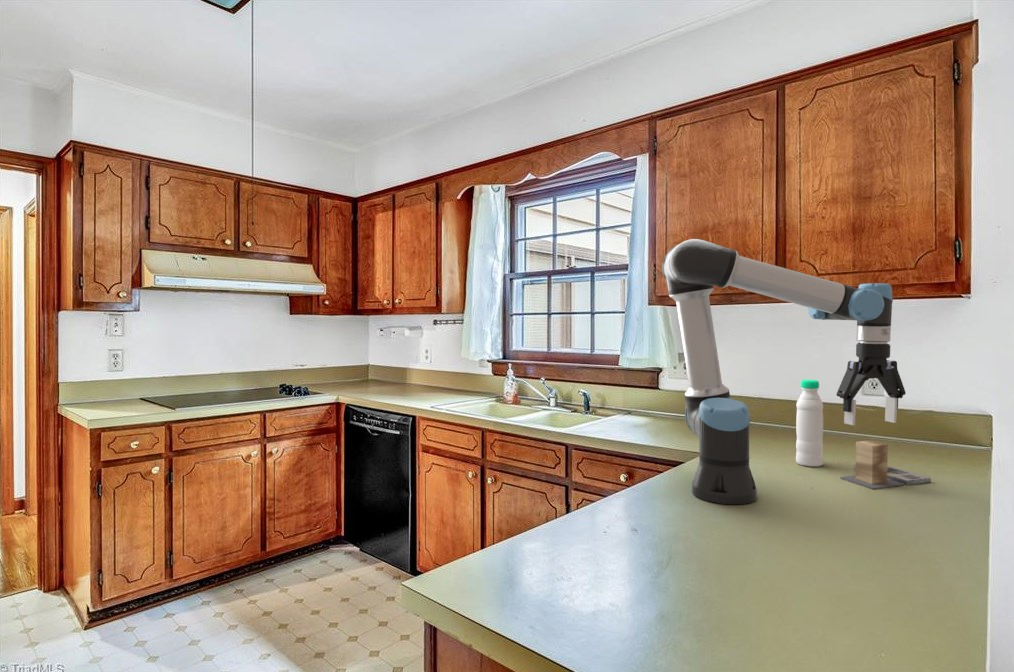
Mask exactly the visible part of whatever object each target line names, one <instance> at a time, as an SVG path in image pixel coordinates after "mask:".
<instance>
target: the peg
mask: <svg viewBox="0 0 1014 672" xmlns="http://www.w3.org/2000/svg"><path fill="white" fill-rule="evenodd" d="M888 446H889V444H888V443H883V442H878V441H876V440H862V441H861V440H860V441H859V440H858V441H855V465H856V469H855V475H856V479H858V480H861V481H864V482H867V483H870V484H878V483H886V482H887V474H888V471H887V466H888V464H889V463H888V457H889V452H888V450H889V449H888V448H889V447H888Z"/></svg>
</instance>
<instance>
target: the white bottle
mask: <svg viewBox="0 0 1014 672" xmlns="http://www.w3.org/2000/svg"><path fill="white" fill-rule="evenodd" d="M800 389H801V390H802V393H801V394H800V395H799V398H797V401H796V404H795V405H796V418H795V419H796V422H795V425H796V427H795V428H796V429H795V431H796V441H795V447H796V452H795V453H796V454H795V462H796V463H797V464H798V465H800V466H804V467H810V468H814V467H815V468H818V467H821V466H822V465H823V464H824V456H823V450H824V443H823V438H824V437H823V436H824V414H823V410H824V404H823V401H822V399H821V397H820V395H819V393H818V391H819V389H820V381H818V380H816V379H802V380H801V381H800Z"/></svg>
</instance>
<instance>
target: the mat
mask: <svg viewBox="0 0 1014 672" xmlns="http://www.w3.org/2000/svg"><path fill="white" fill-rule="evenodd" d="M840 479H841V480H844V481H847V482H851V483H853V484H856V485H859V486H862V487H865V488H868V489H869V490H870V489H871V490H878V489H879V490H880V489H887V488H888V489H889V488H895V487H904V486H905V485H904V484H902V483H899V482H895V481H892V480H889V479H887V482H886V483H878V484H870V483H867V482H864V481H861V480H858V479H856V474H854V475H846V476H840Z"/></svg>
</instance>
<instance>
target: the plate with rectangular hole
mask: <svg viewBox="0 0 1014 672" xmlns="http://www.w3.org/2000/svg"><path fill="white" fill-rule="evenodd" d="M853 470H856V464H854V465H853ZM887 472H891V473H894V474H889V473H887V479H889V480H892V481H895V482H899V483H902V484H904V486H910V485H911V486H912V485H922V484H928V483H931V479H932V478H931V477H930V476H929V477H928V476H926V475H923V474H922V475H921V474H918V473H915V472H912V471H908V470H904V469H901V468H897V467H894V466H890V465H887Z"/></svg>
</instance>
